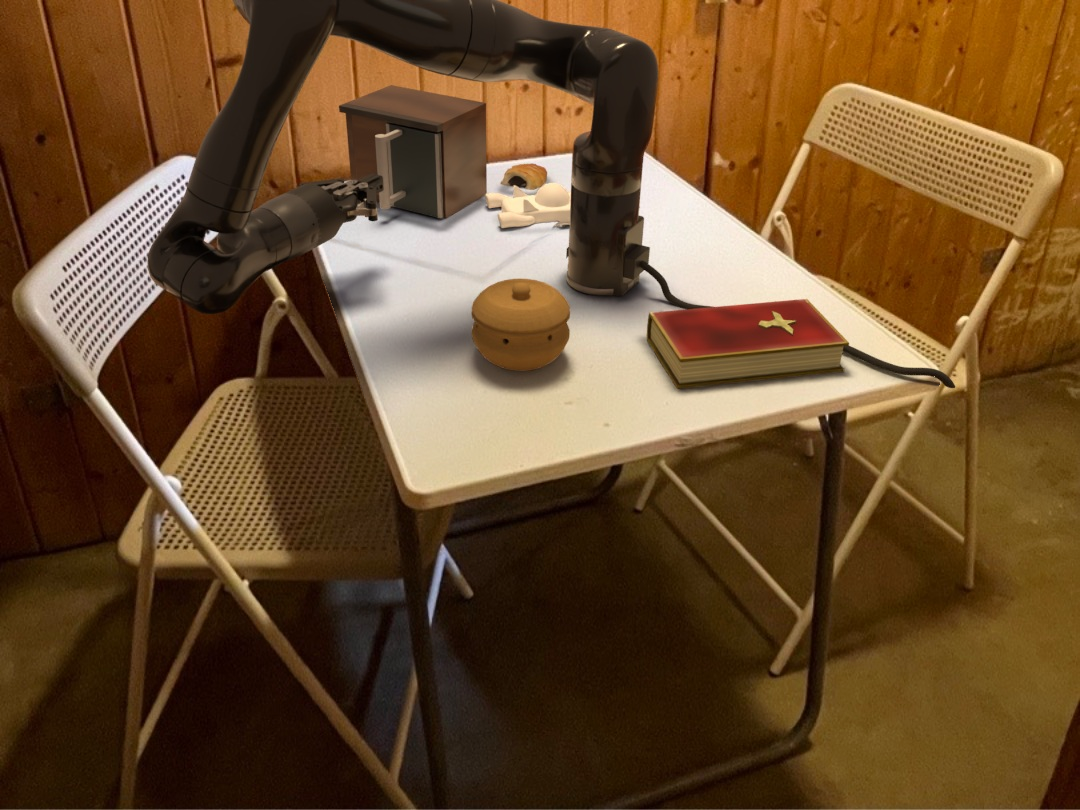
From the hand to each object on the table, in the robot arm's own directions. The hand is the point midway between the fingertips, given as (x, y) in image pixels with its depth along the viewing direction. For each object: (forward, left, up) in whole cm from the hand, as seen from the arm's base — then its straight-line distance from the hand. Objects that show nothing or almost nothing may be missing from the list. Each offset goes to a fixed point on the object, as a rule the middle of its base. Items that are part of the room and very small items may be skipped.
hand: (378, 181), depth 138 cm
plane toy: (-13, -27, -12) cm, 32 cm away
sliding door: (+5, -12, -11) cm, 17 cm away
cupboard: (+9, -22, -12) cm, 27 cm away
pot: (-30, +13, -12) cm, 35 cm away
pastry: (-2, -37, -12) cm, 39 cm away
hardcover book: (-53, -2, -12) cm, 54 cm away
